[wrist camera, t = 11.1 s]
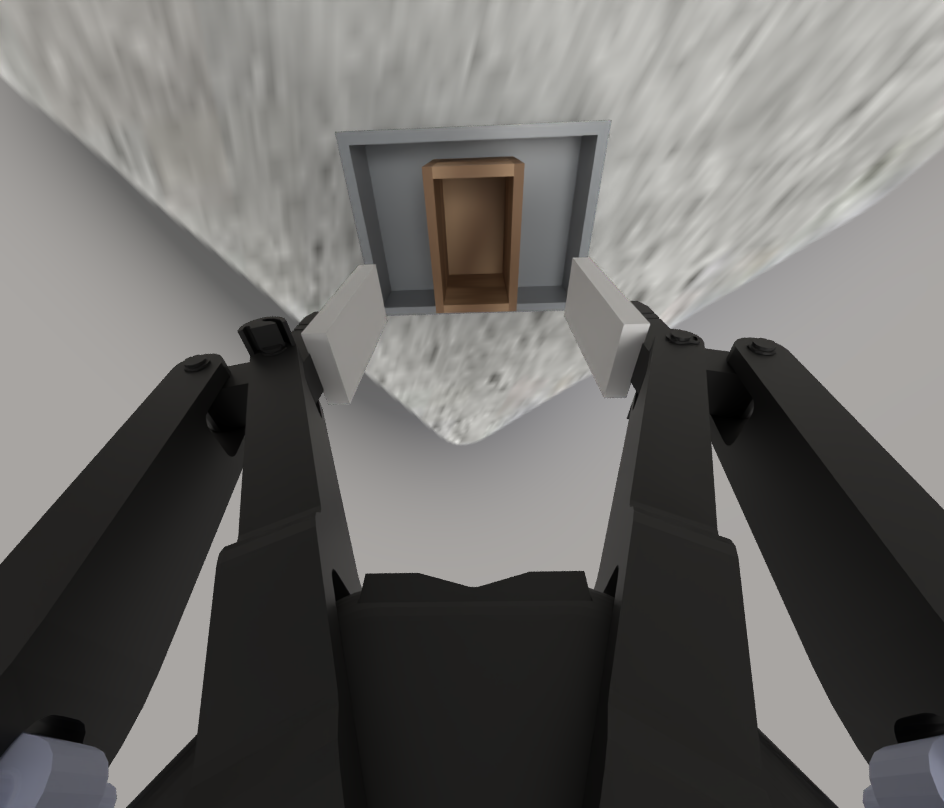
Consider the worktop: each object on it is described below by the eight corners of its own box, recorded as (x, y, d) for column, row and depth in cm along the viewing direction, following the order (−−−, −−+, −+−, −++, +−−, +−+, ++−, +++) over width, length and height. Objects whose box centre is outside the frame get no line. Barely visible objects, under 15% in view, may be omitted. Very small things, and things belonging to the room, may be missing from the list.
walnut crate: (443, 279, 31) (436, 313, 25) (433, 159, 26) (421, 167, 20) (508, 277, 31) (516, 311, 25) (513, 156, 25) (524, 163, 20)
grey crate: (387, 294, 33) (376, 315, 29) (356, 131, 25) (334, 131, 21) (566, 288, 33) (578, 309, 29) (590, 121, 25) (611, 120, 21)
